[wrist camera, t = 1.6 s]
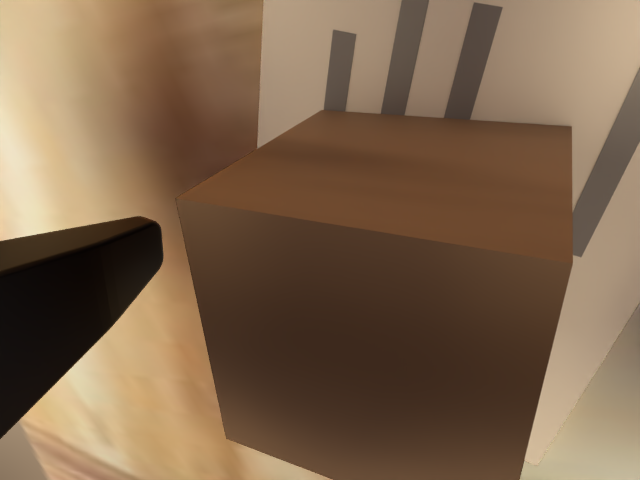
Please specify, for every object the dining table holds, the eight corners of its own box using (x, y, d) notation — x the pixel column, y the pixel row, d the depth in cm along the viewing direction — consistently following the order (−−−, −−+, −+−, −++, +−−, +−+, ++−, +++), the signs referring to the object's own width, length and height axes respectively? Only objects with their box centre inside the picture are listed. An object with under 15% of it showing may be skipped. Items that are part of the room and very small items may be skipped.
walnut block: (526, 338, 11) (502, 544, 7) (329, 294, 13) (226, 438, 9) (572, 126, 9) (573, 263, 5) (321, 109, 11) (174, 198, 7)
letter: (537, 460, 13) (536, 467, 13) (252, 337, 16) (248, 341, 15) (855, -54, 6) (863, -54, 6) (274, -118, 9) (267, -120, 9)
